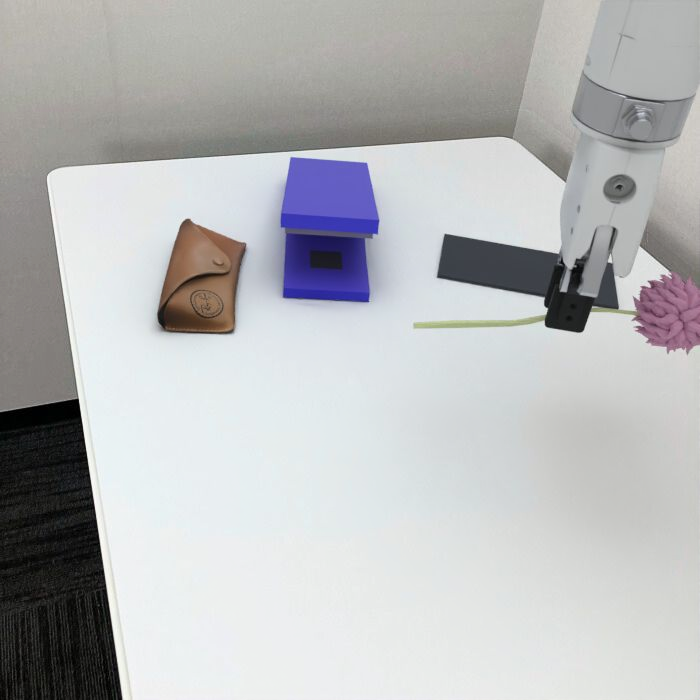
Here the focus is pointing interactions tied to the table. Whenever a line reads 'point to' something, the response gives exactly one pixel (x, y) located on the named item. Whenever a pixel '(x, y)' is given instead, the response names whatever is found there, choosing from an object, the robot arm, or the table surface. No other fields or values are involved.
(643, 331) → the artificial flower
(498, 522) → the table surface
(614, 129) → the robot arm
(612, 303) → the runner
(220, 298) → the sunglasses case
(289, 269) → the stapler
